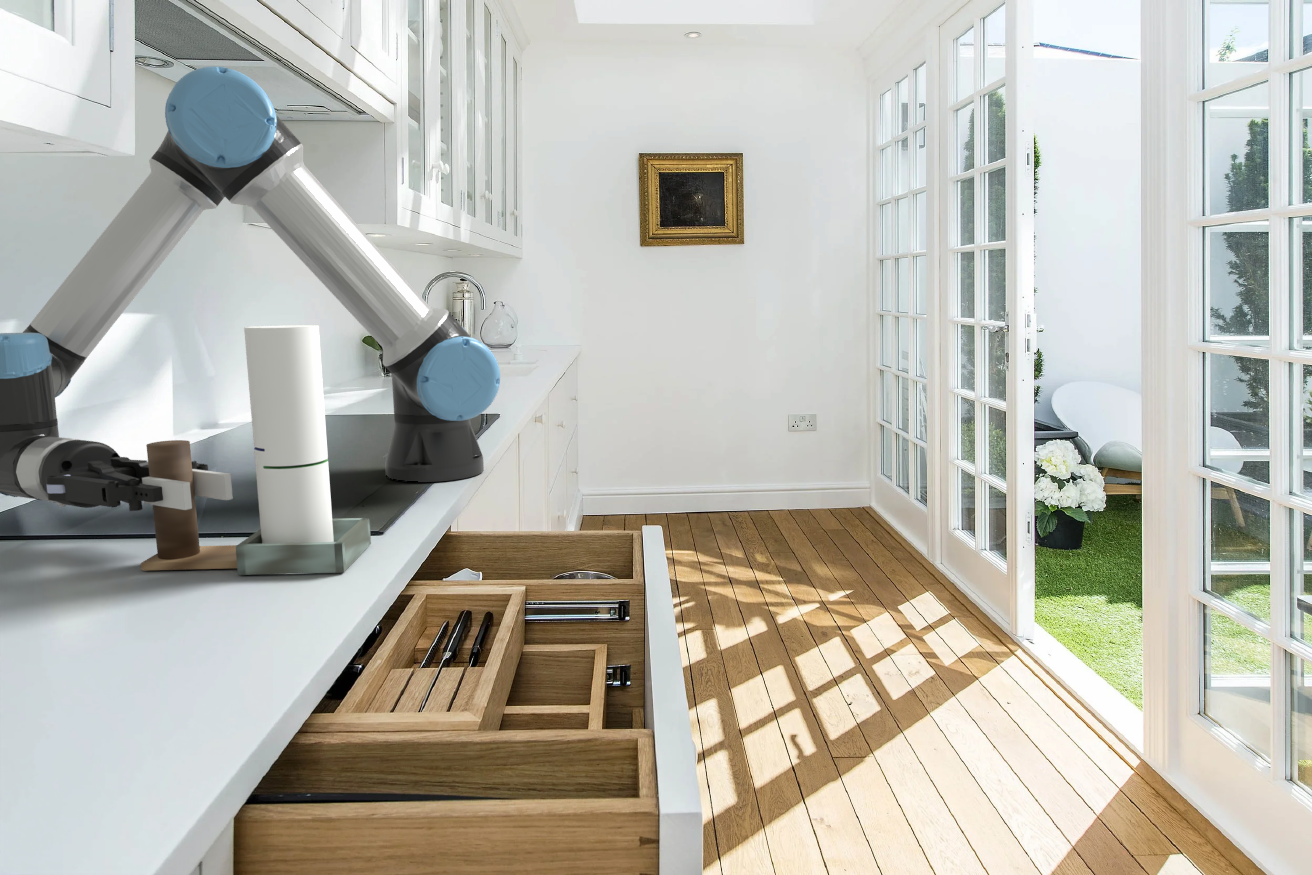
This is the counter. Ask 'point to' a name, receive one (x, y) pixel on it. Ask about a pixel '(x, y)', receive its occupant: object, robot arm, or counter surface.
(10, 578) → the counter surface
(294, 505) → the cylindrical container
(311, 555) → the holder stand
